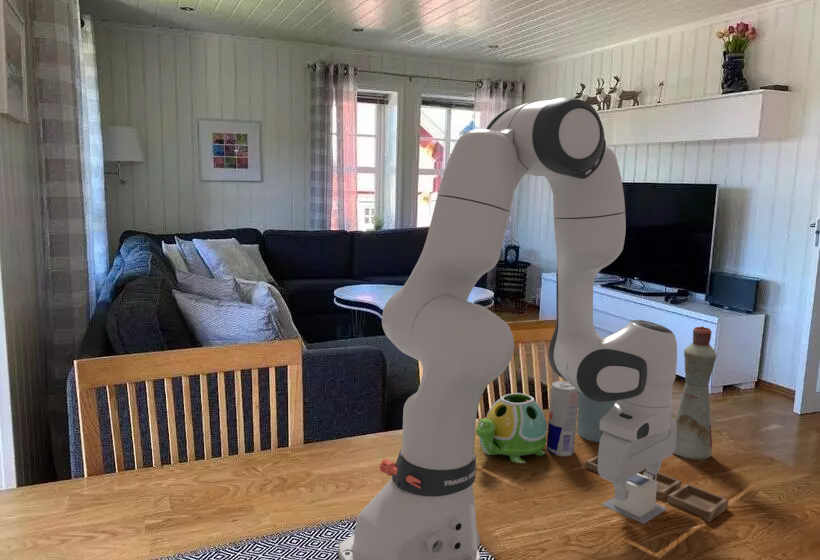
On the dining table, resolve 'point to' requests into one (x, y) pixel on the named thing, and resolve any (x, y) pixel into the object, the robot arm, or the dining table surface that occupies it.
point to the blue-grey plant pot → (591, 417)
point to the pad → (642, 519)
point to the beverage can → (562, 418)
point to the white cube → (639, 495)
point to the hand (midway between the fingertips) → (635, 490)
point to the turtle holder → (513, 428)
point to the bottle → (696, 399)
